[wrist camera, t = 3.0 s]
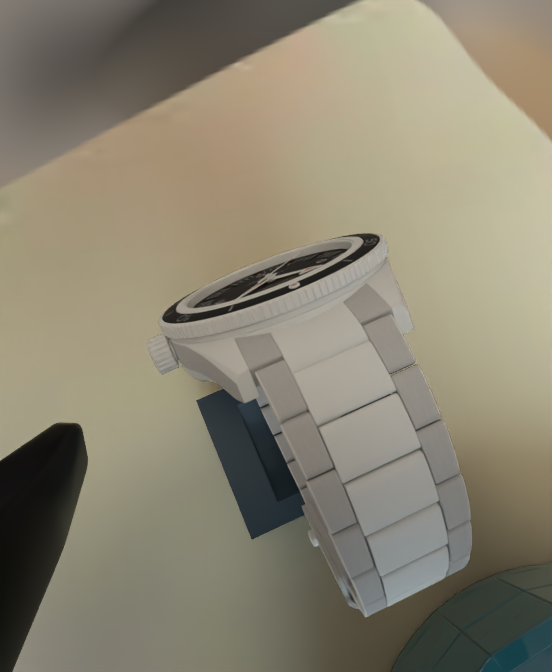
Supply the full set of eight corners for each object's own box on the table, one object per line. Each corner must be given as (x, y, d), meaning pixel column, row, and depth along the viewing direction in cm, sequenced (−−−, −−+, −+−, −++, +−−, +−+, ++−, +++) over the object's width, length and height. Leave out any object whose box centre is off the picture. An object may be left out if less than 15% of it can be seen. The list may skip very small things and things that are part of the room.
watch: (322, 307, 20) (385, 109, 9) (420, 509, 18) (649, 563, 7) (186, 365, 19) (79, 224, 8) (273, 580, 17) (278, 757, 6)
